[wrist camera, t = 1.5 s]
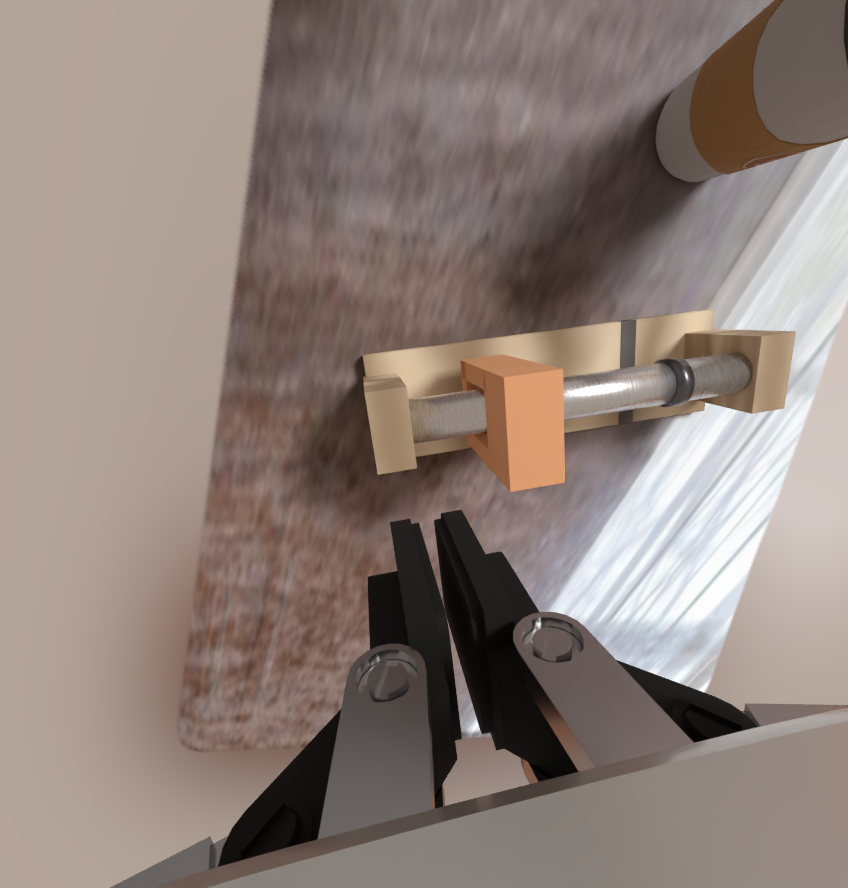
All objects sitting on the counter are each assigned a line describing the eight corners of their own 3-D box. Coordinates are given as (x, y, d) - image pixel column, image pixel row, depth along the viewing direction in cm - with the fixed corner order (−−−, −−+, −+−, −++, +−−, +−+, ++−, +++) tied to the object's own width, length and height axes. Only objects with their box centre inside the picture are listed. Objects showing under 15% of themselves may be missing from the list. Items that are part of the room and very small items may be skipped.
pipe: (391, 442, 28) (395, 456, 25) (384, 395, 27) (387, 404, 24) (728, 389, 31) (768, 397, 28) (732, 345, 30) (775, 348, 27)
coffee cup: (652, 219, 30) (915, 129, 16) (626, 87, 27) (914, -162, 13) (755, 173, 30) (1106, 44, 16) (739, 38, 28) (1143, -259, 13)
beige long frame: (376, 459, 32) (381, 497, 25) (359, 355, 30) (360, 365, 23) (698, 408, 35) (780, 429, 28) (707, 309, 33) (799, 306, 26)
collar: (467, 443, 30) (510, 491, 22) (460, 360, 28) (503, 377, 20) (507, 436, 31) (564, 482, 22) (502, 354, 29) (563, 369, 20)
